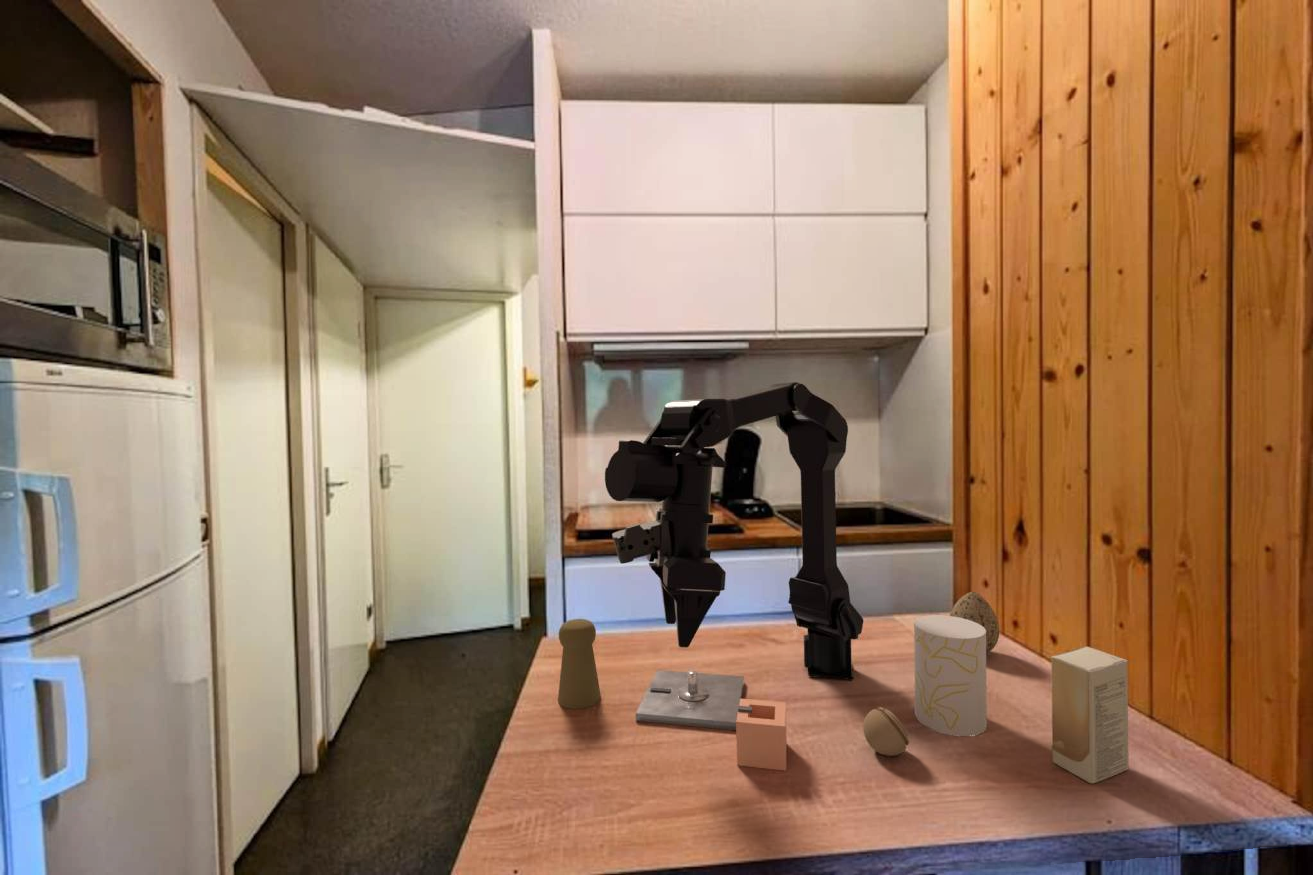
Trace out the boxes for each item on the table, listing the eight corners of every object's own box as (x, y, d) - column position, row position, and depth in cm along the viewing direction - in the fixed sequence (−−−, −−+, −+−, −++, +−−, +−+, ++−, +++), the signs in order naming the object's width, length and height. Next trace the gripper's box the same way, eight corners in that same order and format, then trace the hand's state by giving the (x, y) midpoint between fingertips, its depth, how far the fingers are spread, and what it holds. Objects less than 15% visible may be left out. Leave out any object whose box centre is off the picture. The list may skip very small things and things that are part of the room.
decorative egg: (1003, 651, 93) (1003, 590, 93) (994, 666, 88) (994, 602, 87) (955, 641, 98) (954, 583, 97) (943, 655, 92) (943, 593, 92)
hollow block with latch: (786, 743, 69) (785, 699, 69) (786, 770, 64) (785, 723, 64) (741, 738, 70) (740, 696, 70) (737, 765, 65) (736, 719, 65)
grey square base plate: (744, 682, 85) (743, 656, 85) (735, 730, 72) (735, 698, 72) (658, 676, 88) (657, 650, 88) (635, 720, 75) (634, 690, 75)
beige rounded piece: (906, 770, 63) (905, 725, 63) (859, 757, 66) (858, 714, 66) (912, 747, 68) (912, 705, 67) (868, 736, 70) (867, 695, 70)
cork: (593, 710, 78) (590, 630, 78) (551, 707, 79) (548, 628, 79) (606, 689, 84) (603, 615, 84) (566, 686, 85) (564, 613, 85)
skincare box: (1088, 749, 66) (1088, 644, 66) (1130, 771, 62) (1130, 659, 62) (1049, 762, 64) (1048, 654, 63) (1090, 785, 60) (1090, 669, 59)
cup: (905, 721, 73) (904, 628, 73) (927, 697, 79) (926, 610, 79) (976, 744, 68) (975, 643, 67) (994, 716, 74) (993, 624, 73)
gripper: (614, 493, 77) (605, 611, 77) (625, 504, 59) (613, 659, 58) (695, 499, 79) (687, 614, 78) (731, 511, 60) (720, 662, 60)
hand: (676, 634), depth 68 cm, fingers open, 9 cm apart
